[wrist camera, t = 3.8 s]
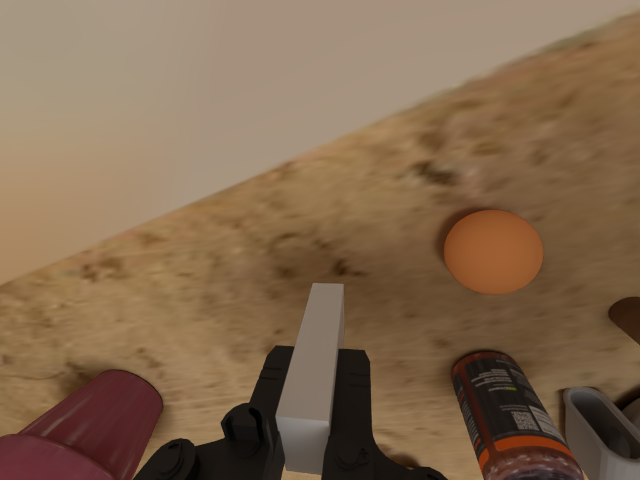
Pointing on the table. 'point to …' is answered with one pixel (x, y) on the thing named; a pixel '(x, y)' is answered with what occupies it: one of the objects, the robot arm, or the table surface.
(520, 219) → the orange egg
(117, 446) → the plant pot
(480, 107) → the table surface
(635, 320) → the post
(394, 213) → the table surface
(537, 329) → the table surface
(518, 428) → the supplement bottle
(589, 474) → the turbocharger housing
